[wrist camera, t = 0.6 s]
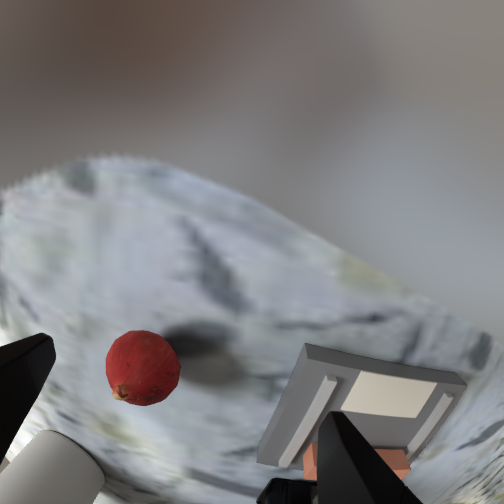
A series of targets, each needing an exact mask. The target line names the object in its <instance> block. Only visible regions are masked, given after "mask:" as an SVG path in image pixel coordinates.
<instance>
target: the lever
mask: <svg viewBox="0 0 504 504" xmlns="http://www.w3.org/2000/svg"><path fill="white" fill-rule="evenodd" d="M317 447H318V444H317V443H311V444H310V446H309V447H308V449H307V450H306V452H305V453H304V455H303V465H304V479H309V480H317V473H316V469H317ZM375 450H376V452H377V453H378V454H379V455H380V456H381V457H382V459H383V460H384V461H385V462H386V463H387V464H388V466H389V467H390V468H391V469H392V470H393V471H394V472H395V474H396V475H397V476H398V477H399V478H400V479H401V480H402V479H403V478H404V477H405V476H406V475H407V474H408V472H409V471H410V470H411V467H410V465H409V463H408V460H407V458H406V455H405V453H404V451H403V450H388V449H375Z"/></svg>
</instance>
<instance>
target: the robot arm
mask: <svg viewBox="0 0 504 504" xmlns="http://www.w3.org/2000/svg"><path fill="white" fill-rule="evenodd" d="M55 360H56V352H55V348H54V343H53V339H52V337H51V336H49V335H47V334H45V333H38V334H36V335H33V336H30V337H27V338H24V339H21V340H18V341H15V342H12V343H10V344H7V345H4V346H1V347H0V465H1V463H2V461H3V459H4V457H5V455H6V453H7V451H8V449H9V447H10V445H11V443H12V441H13V439H14V437H15V436H16V434H17V432H18V430H19V428H20V426H21V425H22V423H23V421H24V419H25V418H26V416H27V414H28V412H29V411H30V409H31V407H32V406H33V404H34V402H35V401H36V399H37V397H38V395H39V393H40V392H41V389H42V387H43V385H44V383H45V381H46V379H47V377H48V375H49V373H50V371H51V369H52V367H53V365H54V363H55ZM316 473H317V484H315V483H305V482H297V481H289V480H282V479H271V480H270V482H269V483H268V484H267V486H266V487H265V489H264V490H263V492H262V493H261V494H260V496H259V497H258V499H257V500H256V503H257V504H313V499H314V497H315V496H316V495H317V494H318V504H423V503H422V502H421V501H420V500H419V499H418V498H417V497H416V496H415V495H414V494H413V493H412V492H411V490H410V489H409V488H408V487H407V486H405V484H404V483H403V482H402V480H401V479H400V478H399V477H398V476H397V475H396V474H395V472H394V471H393V470H392V469H391V468H390V467H389V466H388V464H387V463H386V462H385V461H384V460H383V459H382V457H381V456H380V455H379V454H378V453H377V452H376V450H375V449H374V448H373V447H372V446H371V445H370V443H369V442H368V441H367V440H366V439H365V438H364V436H363V435H362V434H361V433H360V432H359V430H358V429H357V428H356V427H355V426H354V424H353V423H352V422H351V421H350V420H349V418H348V417H347V416H346V415H345V414H344V413H343V412H342V411H330V412H328V414H327V415H326V417H325V418H324V420H323V421H322V423H321V424H320V426H319V429H318V447H317V469H316Z"/></svg>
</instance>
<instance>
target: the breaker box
mask: <svg viewBox="0 0 504 504" xmlns="http://www.w3.org/2000/svg"><path fill="white" fill-rule="evenodd" d="M467 386H468V385H467V384H466V383H465V382H464V381H463V380H462V379H461V378H460V377H459V376H458V374H457V373H451V372H445V371H438V370H432V369H425V368H419V367H414V366H408V365H402V364H397V363H392V362H386V361H381V360H376V359H372V358H367V357H362V356H357V355H353V354H348V353H344V352H340V351H335V350H331V349H327V348H323V347H319V346H315V345H311V344H307V343H305V344H304V346H303V349H302V351H301V353H300V356H299V358H298V361H297V363H296V365H295V368H294V370H293V372H292V375H291V377H290V379H289V381H288V384H287V386H286V388H285V390H284V393H283V395H282V397H281V399H280V401H279V403H278V406H277V408H276V410H275V412H274V414H273V416H272V418H271V420H270V422H269V424H268V427H267V429H266V431H265V433H264V435H263V437H262V439H261V441H260V443H259V445H258V451H257V461H256V463H261V464H266V465H271V466H277V467H283V468H289V469H296V470H304V465H303V455H304V453H305V452H306V450H307V449H308V447H309V446H310V444H311V443H317V444H318V429H319V426H320V424H321V423H322V421H323V420H324V418H325V417H326V415H327V414H328V412H330V411H342V412H343V413H344V414H345V415H346V416H347V417H348V418H349V420H350V421H351V422H352V423H353V424H354V426H355V427H356V428H357V429H358V430H359V432H360V433H361V434H362V435H363V436H364V438H365V439H366V440H367V441H368V442H369V443H370V445H371V446H372V447H373V448H374V449H388V450H403V451H404V453H405V455H406V458H407V460H408V463H409V465H410V464H411V463H412V462H413V461H414V460H415V459H416V457H417V456H418V455H419V454H420V453H421V451H422V450H423V449H424V448H425V447H426V445H427V444H428V443H429V441H430V440H431V439H432V438H433V436H434V435H435V434H436V432H437V431H438V430H439V428H440V427H441V425H442V424H443V423H444V421H445V420H446V418H447V417H448V416H449V414H450V413H451V411H452V410H453V408H454V407H455V405H456V404H457V402H458V400H459V399H460V397H461V396H462V394H463V392H464V391H465V389H466V387H467Z"/></svg>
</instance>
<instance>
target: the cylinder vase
mask: <svg viewBox="0 0 504 504" xmlns="http://www.w3.org/2000/svg"><path fill="white" fill-rule="evenodd" d="M104 483H105V477H104V474H103V472H102V470H101V468H100V467H99V466H98V464H97V463H96V462H95V461H94V460H93V458H92V457H91V456H90V455H89V454H87V453H86V452H85V451H84V450H83V449H82V448H81V447H79V446H78V445H77V444H75V443H74V442H73V441H71V440H70V439H68V438H66V437H65V436H63V435H61V434H59V433H57V432H54V431H51V430H42V431H40V432H39V433H38V434H37V435H36V436H35V437H34V438H33V439H32V440H31V441H30V442H29V443H28V444H27V445H26V447H25V448H24V449H23V450H22V451H21V452H20V453H19V454H18V455H17V456H16V457H15V458H14V459H13V460H12V462H11V463H10V464H9V465H8V466H7V467H6V468H5V469H4V470H3V472H2V473H1V474H0V504H93V502H94V500H95V499H96V497H97V495H98V493H99V492H100V490H101V488H102V487H103V485H104Z"/></svg>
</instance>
